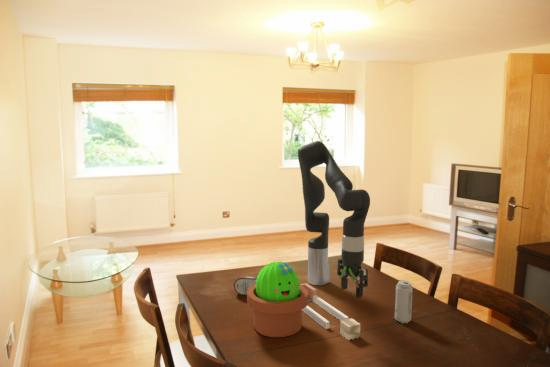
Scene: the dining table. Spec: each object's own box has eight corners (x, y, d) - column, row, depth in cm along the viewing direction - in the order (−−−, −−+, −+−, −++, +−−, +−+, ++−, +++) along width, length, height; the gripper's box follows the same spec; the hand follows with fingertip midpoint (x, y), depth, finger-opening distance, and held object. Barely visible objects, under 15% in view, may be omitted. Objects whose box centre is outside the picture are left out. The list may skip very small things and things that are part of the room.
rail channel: (306, 294, 188) (306, 283, 188) (348, 323, 161) (348, 310, 160) (286, 298, 184) (286, 286, 183) (325, 329, 156) (326, 316, 156)
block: (351, 331, 155) (351, 318, 154) (360, 337, 151) (360, 324, 150) (339, 334, 153) (340, 321, 152) (348, 340, 149) (348, 327, 148)
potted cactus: (240, 318, 165) (239, 255, 161) (293, 310, 172) (293, 249, 169) (258, 346, 144) (258, 274, 141) (317, 335, 152) (318, 267, 149)
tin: (268, 294, 188) (268, 275, 187) (267, 297, 185) (267, 278, 184) (234, 292, 190) (234, 274, 189) (233, 295, 187) (233, 276, 186)
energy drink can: (396, 315, 168) (398, 278, 165) (412, 319, 165) (414, 281, 163) (392, 322, 162) (394, 283, 160) (409, 325, 159) (411, 286, 157)
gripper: (375, 251, 142) (373, 298, 145) (349, 241, 155) (348, 284, 157) (356, 254, 139) (355, 302, 141) (331, 243, 152) (330, 287, 154)
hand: (351, 293), depth 149 cm, fingers open, 8 cm apart
